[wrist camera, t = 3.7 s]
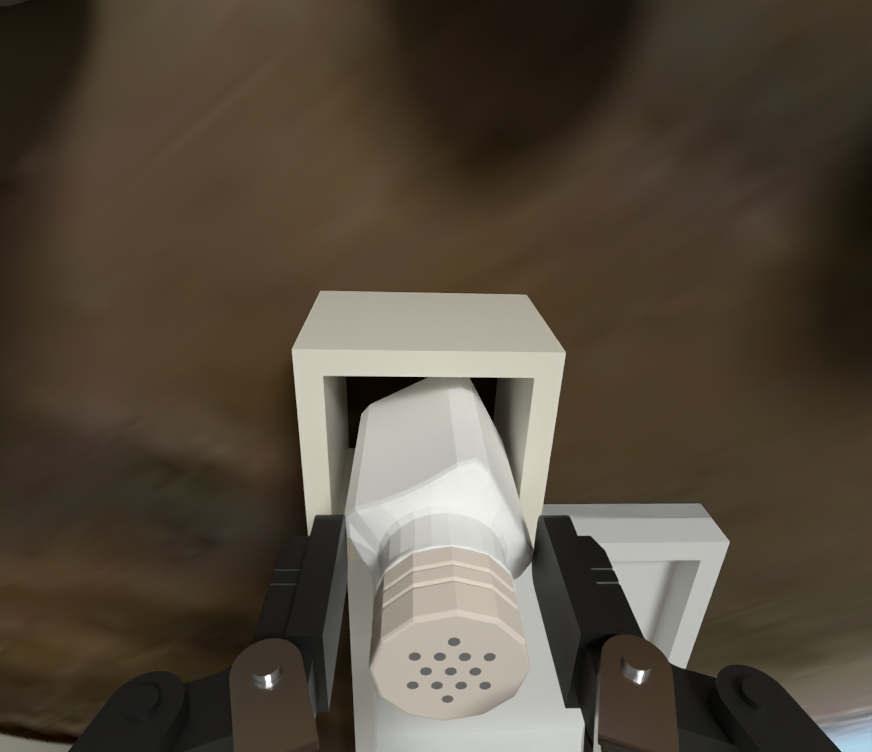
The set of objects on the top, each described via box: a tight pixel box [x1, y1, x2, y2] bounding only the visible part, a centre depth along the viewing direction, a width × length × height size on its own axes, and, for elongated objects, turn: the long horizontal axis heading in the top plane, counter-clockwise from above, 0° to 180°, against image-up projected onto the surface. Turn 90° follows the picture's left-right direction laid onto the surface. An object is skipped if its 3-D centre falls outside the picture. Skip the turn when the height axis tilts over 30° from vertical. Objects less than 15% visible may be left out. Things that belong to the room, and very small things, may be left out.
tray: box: [347, 504, 730, 752], centre depth 27 cm, size 16×16×2 cm
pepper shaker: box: [344, 377, 533, 721], centre depth 15 cm, size 4×4×10 cm
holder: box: [292, 291, 566, 559], centre depth 19 cm, size 8×8×6 cm
